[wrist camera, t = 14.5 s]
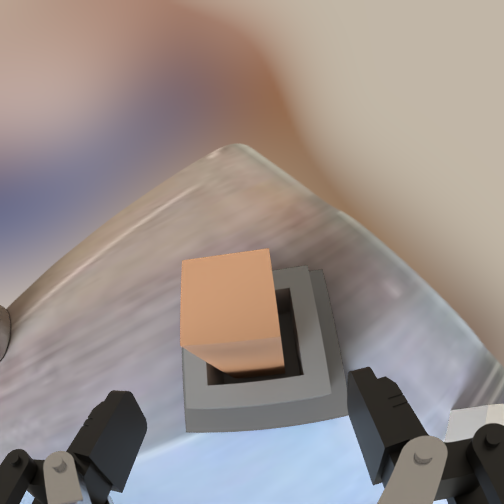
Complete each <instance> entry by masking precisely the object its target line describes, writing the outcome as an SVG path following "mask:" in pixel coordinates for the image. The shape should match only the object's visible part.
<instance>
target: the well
mask: <svg viewBox="0 0 504 504" xmlns="http://www.w3.org/2000/svg"><path fill="white" fill-rule="evenodd" d="M272 274H273V281H274V288H275V295H276V303H277V310H278V318H279V325H280V333H281V341H282V349H283V357H284V366H285V373H283V374H275V375H267V376H258V377H247V378H233V377H231V376H230V375H228V374H226V373H224V372H223V371H221V370H219V369H217V368H216V367H214V366H212V365H211V364H209V363H207V362H205V361H204V360H202V359H201V358H199V357H197V356H196V355H194V354H192V353H191V352H189V351H188V350H186V349H184V348H183V347H182V371H183V392H184V409H185V423H186V432H195V433H206V432H237V431H252V430H263V429H272V428H281V427H288V426H295V425H302V424H308V423H314V422H319V421H324V420H329V419H334V418H339V417H343V416H348V415H349V414H348V409H347V386H346V380H345V374H344V369H343V363H342V358H341V353H340V347H339V342H338V337H337V332H336V327H335V323H334V318H333V313H332V309H331V304H330V300H329V295H328V291H327V287H326V283H325V278H324V274H323V270H322V269H321V270H315V271H309V270H308V266H307V265H305V266H298V267H292V268H285V269H279V270H272Z"/></svg>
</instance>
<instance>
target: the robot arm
mask: <svg viewBox="0 0 504 504" xmlns="http://www.w3.org/2000/svg"><path fill="white" fill-rule="evenodd" d="M9 337H10V318H9V314H8V312H7V310H6V309H5V308H4V307H2V306H1V305H0V360H1V359H2V357H3V356H4V354H5V351H6V349H7V346H8V342H9ZM347 409H348V414H349V417H350V420H351V423H352V426H353V429H354V431H355V434H356V437H357V440H358V443H359V446H360V448H361V451H362V454H363V457H364V460H365V463H366V466H367V469H368V472H369V475H370V478H371V481H372V484H373V485H375V484H379V483H383V485H384V488H385V489H384V491H383V493H382V495H381V497H380V499H379V501H378V503H377V504H433V501H436V500H441V499H447V501H448V504H504V426H503V425H501V424H498V423H489V424H486V425H484V426H482V427H480V428H479V429H478V430H477V431H476V433H475V434H474V436H473V438H469V439H464V440H460V441H454V442H443V441H442V440H440V439H439V438H436V437H434V436H429V435H428V434H427V432H426V431H425V429H424V428H423V426H422V424H421V423H420V421H419V419H418V418H417V416H416V414H415V413H414V411H413V409H412V408H411V406H410V405H409V403H408V402H407V400H406V398H405V397H404V395H403V393H402V392H401V390H400V389H399V387H398V385H397V384H396V383H395V382H393V381H392V380H390V379H389V378H387V377H386V376H385V377H382V378H378V379H377V378H376V376H375V374H374V373H373V371H372V369H371V368H370V367H366V368H362V369H358V370H353V371H349V372H348V388H347ZM83 425H84V426H82V427H81V429H80V430H79V432H78V434H77V435H76V437H75V438H74V440H73V442H72V443H71V445H70V446H69V448H68V450H67V451H66V452H65V451H58V452H54V453H52V454H51V455H49V456H48V457H47V458H46V460H33V459H32V458H31V457H30V456H29V455H28V454H27V452H26V451H24V450H22V449H16V450H13V451H11V452H10V453H9V454H8V455H7V456H6V457H5V459H4V460H3V462H2V463H1V465H0V504H20V502H21V500H22V498H23V496H24V494H25V492H26V490H27V491H28V492H29V493H30V494H31V495H33V496H34V497H35V498H34V501H33V503H32V504H114V503H113V500H112V498H111V497H110V496H109V493H110V491H111V490H112V491H116V492H121V493H122V492H123V489H124V487H125V484H126V482H127V479H128V477H129V474H130V471H131V469H132V466H133V464H134V461H135V459H136V456H137V454H138V451H139V449H140V446H141V444H142V441H143V439H144V437H145V434H146V431H147V422H146V419H145V417H144V415H143V413H142V411H141V409H140V407H139V405H138V403H137V402H136V400H135V398H134V396H133V394H132V393H131V392H129V391H115V390H113V391H111V392H110V393H109V394H108V396H107V398H106V399H105V401H104V402H103V401H102V402H101V403H100V404H99V405H98V406H96V407H95V408H94V409H93V410H92V412H91V413H90V415H89V416H88V419H86V421H85V423H84V424H83Z"/></svg>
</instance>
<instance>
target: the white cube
mask: <svg viewBox="0 0 504 504" xmlns="http://www.w3.org/2000/svg"><path fill="white" fill-rule="evenodd" d="M489 423H498V424H501V425H503V426H504V404H493V405H485V406H478V407H472V408H464V409H456V410H451V411H450V417H449V422H448V427H447V432H446V436H445V441H444V442H454V441H460V440H464V439H469V438H473V436H474V434H475V433H476V431H477V430H478V429H479V428H480V427H482V426H484V425H486V424H489Z"/></svg>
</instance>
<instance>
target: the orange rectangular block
mask: <svg viewBox="0 0 504 504" xmlns="http://www.w3.org/2000/svg"><path fill="white" fill-rule="evenodd" d="M180 346H181V347H183V348H184V349H186V350H188V351H189V352H191V353H192V354H194V355H196V356H197V357H199V358H201V359H202V360H204V361H205V362H207V363H209V364H211V365H212V366H214V367H216V368H217V369H219V370H221V371H223V372H224V373H226V374H228V375H230V376H231V377H233V378H247V377H258V376H267V375H275V374H283V373H285V366H284V357H283V349H282V341H281V333H280V325H279V318H278V310H277V303H276V295H275V288H274V281H273V274H272V266H271V259H270V252H269V248H267V249H260V250H253V251H246V252H239V253H232V254H225V255H218V256H210V257H203V258H196V259H189V260H182V277H181V313H180Z"/></svg>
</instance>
